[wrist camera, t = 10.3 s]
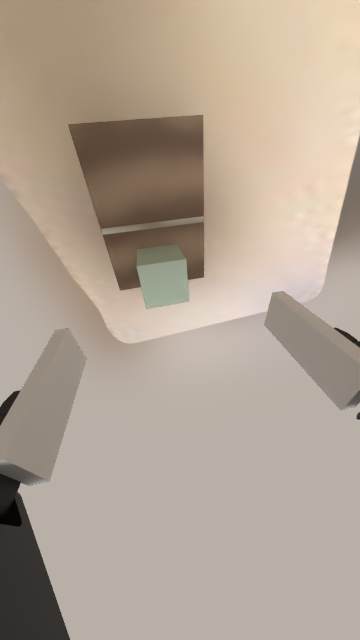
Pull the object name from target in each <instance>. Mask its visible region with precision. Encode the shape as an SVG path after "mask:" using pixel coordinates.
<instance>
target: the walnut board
mask: <svg viewBox="0 0 360 640" xmlns="http://www.w3.org/2000/svg"><path fill="white" fill-rule="evenodd" d="M68 126H69V129H70V132H71V136H72V139H73V142H74V145H75V148H76V151H77V155H78V158H79V161H80V164H81V167H82V170H83V174H84V177H85V180H86V183H87V186H88V190H89V193H90V196H91V199H92V202H93V205H94V209H95V212H96V215H97V218H98V221H99V224H100V228H101V231H102V235H103V237H104V240H105V243H106V247H107V250H108V253H109V256H110V259H111V262H112V266H113V269H114V272H115V275H116V278H117V282H118V285H119V288H120V290H126V289H132V288H138V287H141V284H140V279H139V275H138V271H137V266H136V265H137V249H144V248H151V247H158V246H166V245H173V244H177V245H178V247H179V248H180V250H181V252H182V253H183V255H184V256H185V258H186V261H187V277H188V280H190V279H196V278H202V277H204V195H203V115H195V116H181V117H167V118H153V119H139V120H125V121H110V122H96V123H82V124H68Z"/></svg>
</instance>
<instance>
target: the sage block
mask: <svg viewBox="0 0 360 640" xmlns="http://www.w3.org/2000/svg"><path fill="white" fill-rule="evenodd" d="M136 266H137V271H138V275H139V279H140V284H141V288H142V292H143V296H144V301H145V305H146V309H148V308H154V307H160V306H166V305H172V304H178V303H184V302H189V293H188V277H187V261H186V258H185V256H184V255H183V253H182V252H181V250H180V248H179V247H178V245H177V244H173V245H166V246H158V247H151V248H144V249H137V265H136Z"/></svg>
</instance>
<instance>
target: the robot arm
mask: <svg viewBox="0 0 360 640" xmlns="http://www.w3.org/2000/svg"><path fill="white" fill-rule="evenodd" d="M264 325H265V326H266V327H267V328H268V330H269V331H270V332H271V333H272V334H273V335H274V336H275V337H276V339H277V340H278V341H279V342H280V343H281V344H282V345H283V346H284V348H285V349H286V350H287V351H288V352H289V353H290V354H291V355H292V357H293V358H294V359H295V360H296V361H297V362H298V363H299V364H300V366H301V367H302V368H303V369H304V370H305V371H306V372H307V373H308V374H309V376H310V377H311V378H312V379H313V380H314V381H315V382H316V383H317V385H318V386H319V387H320V388H321V389H322V390H323V391H324V392H325V394H326V395H327V396H328V397H329V398H330V399H331V400H332V401H333V403H334V404H335V405H336V406H337V407H338V408H339V409H340V410H345V409H349V408H353V407H355V406H357V404H359V402H360V342H359V341H357V339H355V338H354V337H352V336H351V335H350V334H348V333H347V332H344V331H342V330H340V329H338V328H332V327H331V326H330V325H328V324H327V323H325V322H324V321H323V320H321V319H320V318H319V317H317V316H316V315H314V314H313V313H312V312H311V311H309V310H308V309H307V308H305V307H304V306H303V305H301V304H300V303H299V302H297V301H296V300H294V299H293V298H292V297H290V296H289V295H288V294H286V293H285V292H284V291H280V292H274V293H272V296H271V300H270V304H269V308H268V312H267V316H266V320H265V324H264ZM86 359H87V358H86V356H85V355H84V353H83V351H82V350H81V348H80V346H79V345H78V343H77V341H76V340H75V338H74V336H73V334H72V333H71V331H70V330H69V328H66V329H60V330H55V332H54V333H53V335H52V337H51V339H50V340H49V342H48V344H47V346H46V348H45V349H44V351H43V353H42V354H41V356H40V358H39V359H38V361H37V363H36V365H35V367H34V368H33V370H32V372H31V373H30V375H29V377H28V379H27V380H26V382H25V384H24V386H23V387H22V389H21V390H20V391H15V392H13V393H12V394H11V395H10V396H9V397H8V398H7V400H5V401H4V402H3V404H2V405H1V407H0V640H70V638H69V635H68V633H67V629H66V626H65V623H64V621H63V618H62V615H61V612H60V609H59V606H58V603H57V600H56V597H55V594H54V591H53V588H52V585H51V582H50V579H49V576H48V574H47V571H46V568H45V565H44V562H43V559H42V556H41V553H40V550H39V547H38V544H37V541H36V539H35V536H34V533H33V530H32V527H31V524H30V521H29V518H28V515H27V512H26V509H25V506H24V503H23V500H22V497H21V495H20V494H19V493H18V492H17V491H18V488H19V485H20V483H23V484H26V485H28V486H33V485H37V484H41V483H45V482H49V481H50V478H51V475H52V472H53V468H54V465H55V461H56V458H57V455H58V452H59V448H60V445H61V442H62V439H63V435H64V432H65V429H66V425H67V422H68V419H69V415H70V412H71V409H72V405H73V402H74V399H75V395H76V392H77V389H78V385H79V382H80V379H81V376H82V372H83V369H84V366H85V362H86ZM357 419H360V412H359V413H358V415H357Z"/></svg>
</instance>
